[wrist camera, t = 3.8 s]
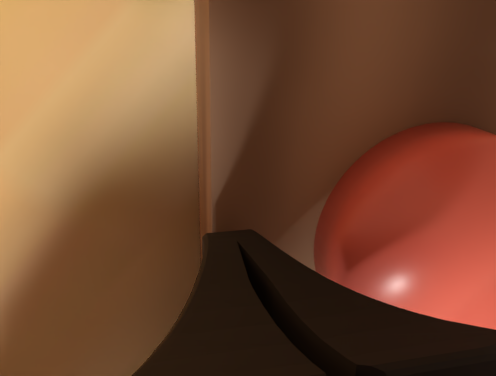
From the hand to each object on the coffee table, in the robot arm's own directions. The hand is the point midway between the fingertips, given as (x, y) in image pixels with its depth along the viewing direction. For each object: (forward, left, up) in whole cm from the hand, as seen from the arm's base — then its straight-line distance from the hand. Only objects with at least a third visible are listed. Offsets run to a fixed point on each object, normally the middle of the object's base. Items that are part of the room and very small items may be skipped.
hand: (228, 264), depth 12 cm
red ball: (+6, 0, -1) cm, 6 cm away
